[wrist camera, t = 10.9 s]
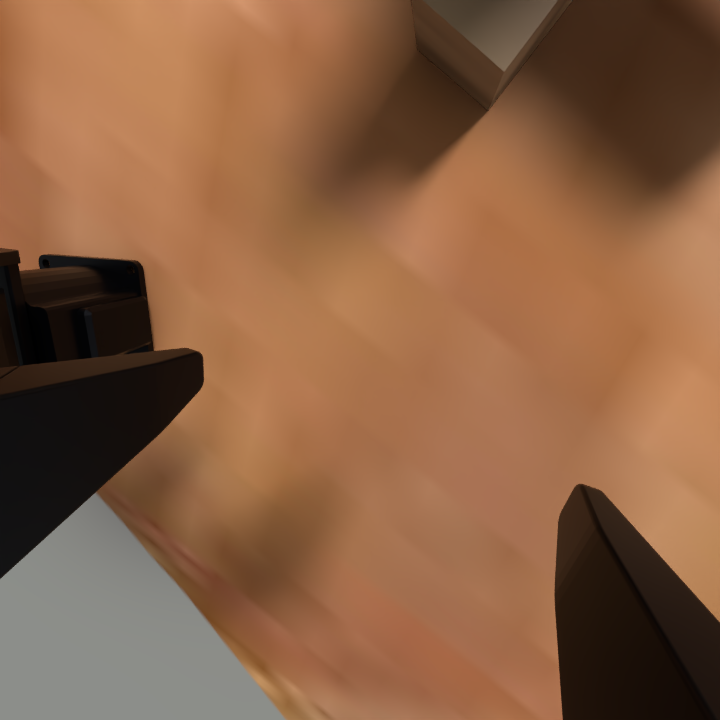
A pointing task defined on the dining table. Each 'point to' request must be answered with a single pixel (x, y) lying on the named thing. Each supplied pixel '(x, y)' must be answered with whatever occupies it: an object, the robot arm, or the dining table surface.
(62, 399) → the robot arm
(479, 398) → the dining table surface
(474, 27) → the long rectangular block
